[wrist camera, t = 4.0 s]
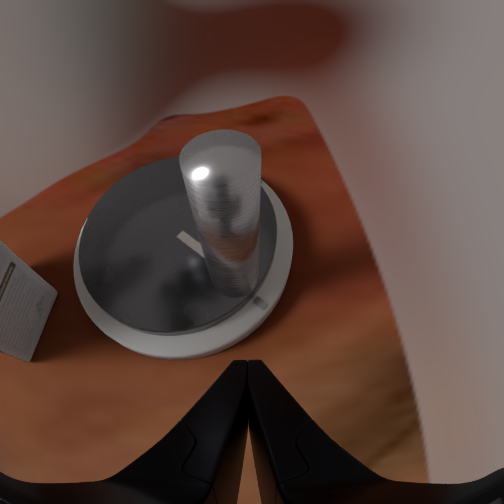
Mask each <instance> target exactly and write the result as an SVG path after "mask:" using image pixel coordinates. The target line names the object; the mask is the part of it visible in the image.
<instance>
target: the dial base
mask: <svg viewBox="0 0 504 504" xmlns="http://www.w3.org/2000/svg"><path fill="white" fill-rule="evenodd" d="M261 187H262V188H263V189H264V191H265V192H266V194H267V195H268V197H269V199H270V201H271V203H272V205H273V208H274V212H275V215H276V222H277V241H276V250H275V254H274V259H273V263H272V266H271V268H270V271H269V274H268V276H267V277H266V279H265V281H264V283H263V284H262V286H261V287H260V289H259V290H258V291H257V293H256V294H255V295H254V297H253V298H252V299H251V300H250V301H249V302H248V303H247V304H246V305H245V306H244V307H243V308H242V309H240V310H239V311H238V312H236V313H235V314H234V315H232V316H231V317H229V318H228V319H226V320H224V321H223V322H221V323H219V324H217V325H215V326H212V327H210V328H207V329H205V330H202V331H198V332H195V333H191V334H185V335H177V336H158V335H152V334H146V333H142V332H139V331H136V330H133V329H131V328H129V327H127V326H125V325H123V324H121V323H120V322H118V321H117V320H115V319H114V318H113V317H111V316H110V315H109V314H107V313H106V312H105V311H104V310H103V309H102V308H101V307H100V306H99V305H98V304H97V303H96V302H95V301H94V299H93V298H92V297H91V295H90V294H89V292H88V290H87V288H86V286H85V284H84V282H83V279H82V276H81V272H80V266H79V244H80V238H81V234H82V231H83V228H84V226H83V228H82V230H81V232H80V235H79V238H78V241H77V245H76V249H75V254H74V265H73V268H74V281H75V286H76V291H77V293H78V296H79V299H80V302H81V304H82V306H83V308H84V309H85V311H86V313H87V315H88V316H89V317H90V318H91V320H92V321H93V322H94V324H95V325H96V326H97V327H98V328H99V329H101V330H102V331H103V332H104V333H105V334H106V335H108V336H109V337H111V338H112V339H114V340H115V341H117V342H118V343H120V344H121V345H123V346H124V347H126V348H128V349H130V350H132V351H134V352H136V353H139V354H141V355H144V356H148V357H152V358H155V359H163V360H191V359H197V358H202V357H206V356H209V355H212V354H216V353H219V352H221V351H223V350H225V349H227V348H229V347H232V346H234V345H235V344H237V343H238V342H240V341H241V340H243V339H244V338H246V337H248V336H249V335H250V334H251V333H252V332H253V331H255V330H256V329H257V328H258V327H259V326H260V325H261V324H262V323H263V322H264V321H265V319H266V318H267V317H268V316H269V315H270V314H271V312H272V311H273V309H274V308H275V306H276V304H277V303H278V301H279V299H280V297H281V295H282V293H283V291H284V288H285V285H286V282H287V279H288V275H289V271H290V266H291V261H292V254H293V234H292V229H291V223H290V220H289V217H288V215H287V212H286V210H285V208H284V206H283V204H282V202H281V200H280V199H279V198H278V196H277V195H276V194H275V192H274V191H273V190H272V189H271V188H270V187H269V186H268V185H267V184H266V183H265V182H264V181H262V180H261ZM86 221H87V220H86ZM85 223H86V222H85ZM84 225H85V224H84Z"/></svg>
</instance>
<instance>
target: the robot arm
mask: <svg viewBox="0 0 504 504" xmlns="http://www.w3.org/2000/svg"><path fill="white" fill-rule="evenodd" d="M248 419H249V432H250V439H251V445H252V451H253V457H254V463H255V469H256V474H257V480H258V486H259V491H260V497H261V502H262V504H504V468H502V469H499V470H497V471H495V472H493V473H491V474H489V475H487V476H486V477H484V478H481V479H479V480H476V481H472V482H468V483H461V484H430V483H413V482H401V481H393V480H389V479H386V478H384V477H381V476H380V475H378V474H376V473H375V472H373V471H372V470H370V469H369V468H368V467H366V466H365V465H364V464H362V463H361V462H360V461H358V460H357V459H356V458H354V457H353V456H352V455H350V454H349V453H348V452H347V451H345V450H344V449H343V448H342V447H340V446H339V445H338V444H337V443H336V442H334V441H333V440H332V439H331V438H330V437H329V436H328V435H327V434H326V433H325V432H324V431H323V430H322V429H321V428H320V427H319V426H318V425H317V424H316V423H315V421H314V420H312V418H311V417H310V416H309V415H308V414H307V413H306V412H305V410H304V409H303V408H302V407H301V406H300V405H299V404H298V402H297V401H296V400H295V399H294V398H293V397H292V396H291V394H290V393H289V392H288V391H287V390H286V389H285V387H284V386H283V385H282V384H281V383H280V382H279V380H278V379H277V378H276V377H275V376H274V375H273V373H272V372H271V371H270V370H269V369H268V367H267V366H266V365H265V364H264V363H263V361H262V360H248V362H247V361H246V360H234V361H232V363H231V364H230V365H229V366H228V367H227V368H226V370H225V371H224V372H223V373H222V374H221V375H220V376H219V378H218V379H217V380H216V381H215V382H214V383H213V384H212V386H211V387H210V388H209V389H208V390H207V391H206V392H205V393H204V395H203V396H202V397H201V398H200V399H199V400H198V401H197V402H196V404H195V405H194V406H193V407H192V408H191V409H190V410H189V411H188V412H187V413H186V415H185V416H184V417H183V418H182V419H181V421H179V422H178V423H177V424H176V425H175V426H174V427H173V428H172V429H171V430H170V431H169V432H168V433H167V434H166V435H165V436H164V437H163V438H162V439H161V440H160V441H159V442H158V443H156V444H155V445H154V446H153V447H152V448H150V449H149V450H148V451H147V452H145V453H144V454H143V455H141V456H140V457H139V458H137V459H136V460H135V461H133V462H132V463H131V464H129V465H128V466H127V467H125V468H124V469H123V470H121V471H120V472H118V473H117V474H115V475H113V476H112V477H110V478H107V479H104V480H101V481H94V482H79V483H30V482H24V481H20V480H16V479H13V478H11V477H9V476H7V475H5V474H3V473H1V472H0V504H237V500H238V493H239V487H240V480H241V474H242V467H243V461H244V454H245V447H246V440H247V433H248Z"/></svg>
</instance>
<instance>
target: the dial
mask: <svg viewBox="0 0 504 504" xmlns="http://www.w3.org/2000/svg"><path fill="white" fill-rule="evenodd" d="M276 241H277V222H276V215H275V212H274V208H273V205H272V203H271V201H270V199H269V197H268V195H267V194H266V192H265V191H264V189H263V188H262V187H261V149H260V146H259V144H258V143H257V142H256V141H255V140H254V139H253V138H252V137H250V136H249V135H247V134H245V133H242V132H239V131H234V130H215V131H210V132H206V133H203V134H201V135H199V136H197V137H195V138H193V139H192V140H191V141H189V142H188V143H187V144H186V145H185V146H184V148H183V149H182V151H181V153H180V157H174V158H169V159H164V160H160V161H157V162H153V163H151V164H148V165H145V166H143V167H141V168H139V169H137V170H135V171H133V172H131V173H130V174H128V175H126V176H125V177H123V178H122V179H121V180H119V181H118V182H117V183H115V184H114V185H113V186H112V187H111V188H110V189H109V190H108V191H107V192H106V193H105V194H104V195H103V196H102V197H101V198H100V199H99V201H98V202H97V204H96V205H95V206H94V208H93V209H92V211H91V213H90V215H89V216H88V218H87V221H86V223H85V225H84V228H83V231H82V234H81V238H80V244H79V266H80V272H81V276H82V279H83V282H84V284H85V286H86V288H87V290H88V292H89V294H90V295H91V297H92V298H93V299H94V301H95V302H96V303H97V304H98V305H99V306H100V307H101V308H102V309H103V310H104V311H105V312H106V313H107V314H109V315H110V316H111V317H113V318H114V319H115V320H117V321H118V322H120V323H121V324H123V325H125V326H127V327H129V328H131V329H133V330H136V331H139V332H142V333H146V334H152V335H158V336H177V335H185V334H191V333H195V332H198V331H202V330H205V329H207V328H210V327H212V326H215V325H217V324H219V323H221V322H223V321H224V320H226V319H228V318H229V317H231V316H232V315H234V314H235V313H236V312H238V311H239V310H240V309H242V308H243V307H244V306H245V305H246V304H247V303H248V302H249V301H250V300H251V299H252V298H253V297H254V295H255V294H256V293H257V291H258V290H259V289H260V287H261V286H262V284H263V283H264V281H265V279H266V277H267V276H268V274H269V271H270V268H271V266H272V263H273V259H274V254H275V250H276Z"/></svg>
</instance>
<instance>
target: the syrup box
mask: <svg viewBox="0 0 504 504" xmlns="http://www.w3.org/2000/svg"><path fill="white" fill-rule="evenodd" d="M57 295H58V292H57V291H56V289H55V288H53V287H52V286H51V285H50V284H48V283H47V282H46V281H45V280H44V279H43V278H41V277H40V276H39V275H38V274H37V273H36V272H35V271H34V270H32V269H31V268H30V267H29V266H28V265H27V264H26V263H24V262H23V261H22V260H21V259H20V258H19V257H18V256H16V255H15V254H14V253H13V252H12V251H11V250H10V249H9V248H8V247H7V246H6V245H5V244H4V243H2V242H1V241H0V352H2V353H4V354H7V355H9V356H12V357H14V358H17V359H19V360H22V361H25V362H30V360H31V358H32V356H33V353H34V351H35V348H36V346H37V343H38V341H39V338H40V336H41V333H42V331H43V328H44V325H45V323H46V321H47V318H48V316H49V313H50V311H51V308H52V306H53V304H54V301H55V299H56V296H57Z"/></svg>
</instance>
